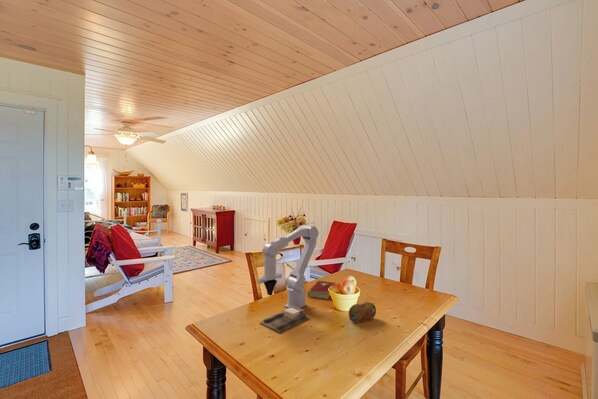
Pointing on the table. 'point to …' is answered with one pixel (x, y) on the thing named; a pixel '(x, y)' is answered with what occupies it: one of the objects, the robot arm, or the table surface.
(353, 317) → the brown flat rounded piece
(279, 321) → the brown and grey tray
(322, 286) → the hardcover book
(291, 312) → the block
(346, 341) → the table surface
